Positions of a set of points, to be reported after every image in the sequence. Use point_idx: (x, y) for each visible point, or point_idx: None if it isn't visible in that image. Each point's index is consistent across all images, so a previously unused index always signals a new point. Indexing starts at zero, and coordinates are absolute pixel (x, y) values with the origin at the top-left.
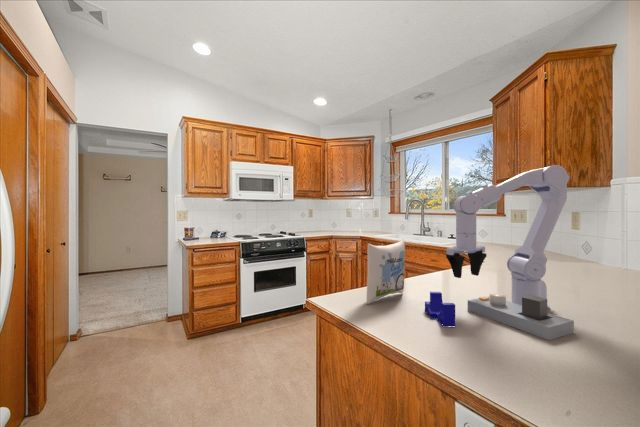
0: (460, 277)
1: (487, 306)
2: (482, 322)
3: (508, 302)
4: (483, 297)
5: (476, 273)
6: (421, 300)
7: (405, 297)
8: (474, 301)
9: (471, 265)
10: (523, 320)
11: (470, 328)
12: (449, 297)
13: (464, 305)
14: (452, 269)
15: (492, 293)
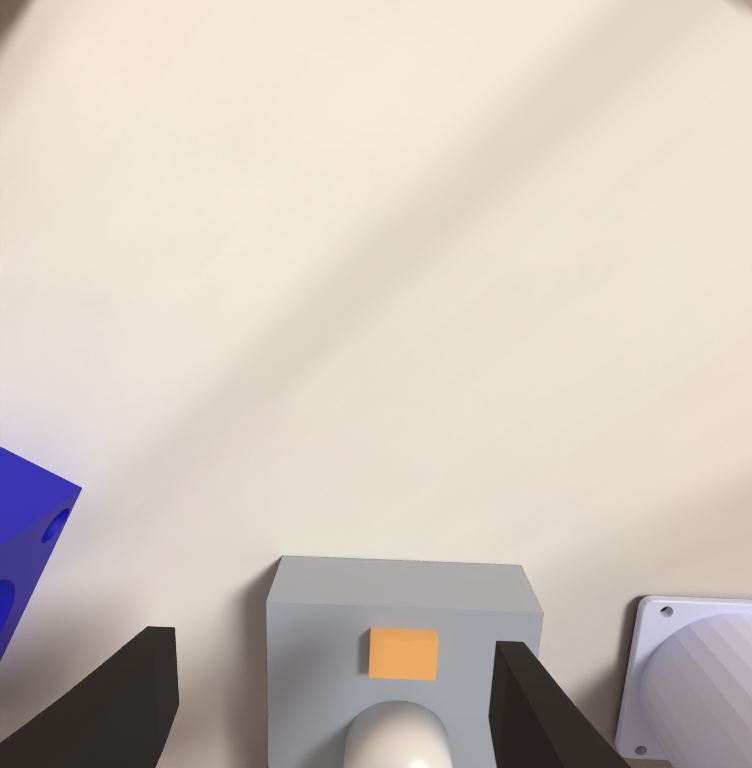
0: (170, 709)
1: (274, 746)
2: (185, 718)
3: None
4: (402, 654)
5: (496, 737)
6: (112, 228)
7: (22, 78)
8: (288, 643)
9: (545, 764)
10: None
11: None
12: (416, 277)
13: (349, 480)
14: (60, 705)
15: (413, 766)
